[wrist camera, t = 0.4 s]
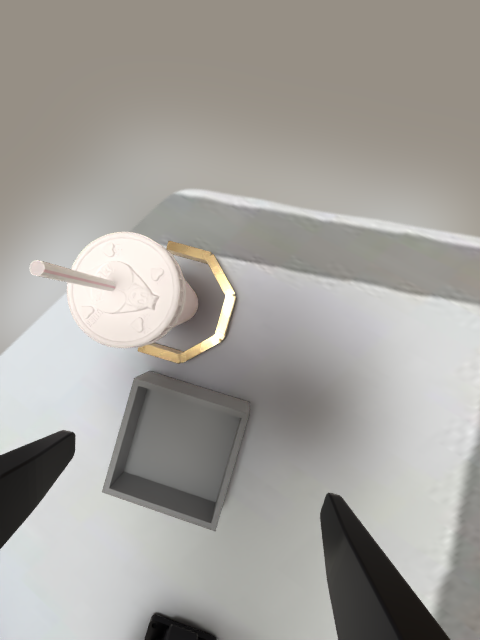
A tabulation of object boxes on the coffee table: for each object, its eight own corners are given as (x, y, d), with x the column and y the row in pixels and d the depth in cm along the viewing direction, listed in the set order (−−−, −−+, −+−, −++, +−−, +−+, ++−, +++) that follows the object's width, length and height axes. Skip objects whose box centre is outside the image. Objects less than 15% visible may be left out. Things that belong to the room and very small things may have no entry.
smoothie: (159, 260, 22) (1, 157, 8) (222, 283, 22) (167, 216, 8) (137, 323, 22) (-59, 327, 8) (198, 346, 22) (103, 392, 8)
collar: (215, 370, 22) (212, 374, 20) (145, 348, 22) (137, 351, 21) (245, 265, 22) (245, 261, 20) (174, 246, 22) (168, 240, 21)
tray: (220, 504, 22) (215, 531, 19) (120, 470, 22) (101, 492, 20) (249, 402, 22) (249, 414, 19) (149, 370, 22) (134, 378, 19)
